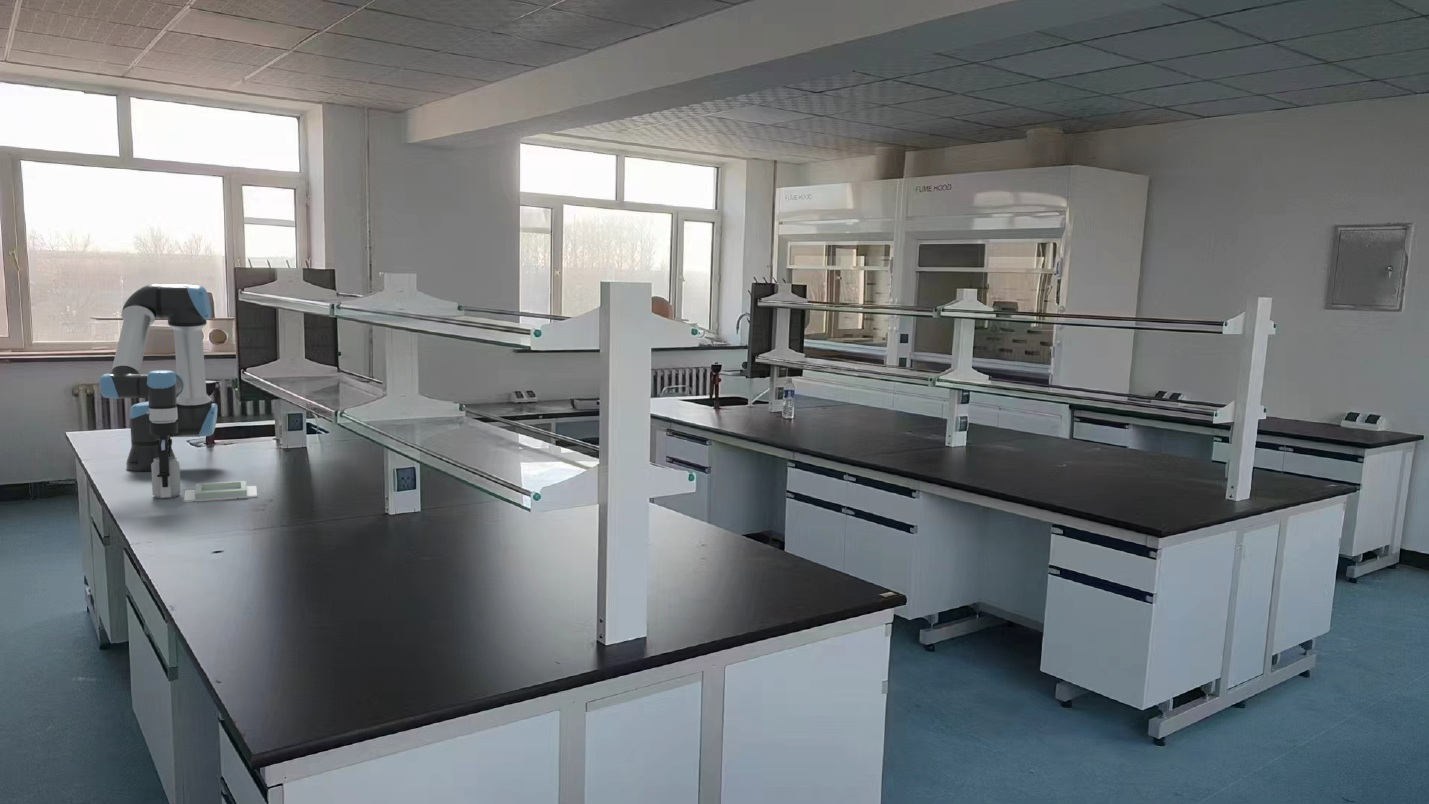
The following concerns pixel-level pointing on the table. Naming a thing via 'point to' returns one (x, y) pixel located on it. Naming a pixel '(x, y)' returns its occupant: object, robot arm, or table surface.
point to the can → (174, 475)
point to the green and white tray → (220, 491)
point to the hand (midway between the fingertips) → (166, 494)
